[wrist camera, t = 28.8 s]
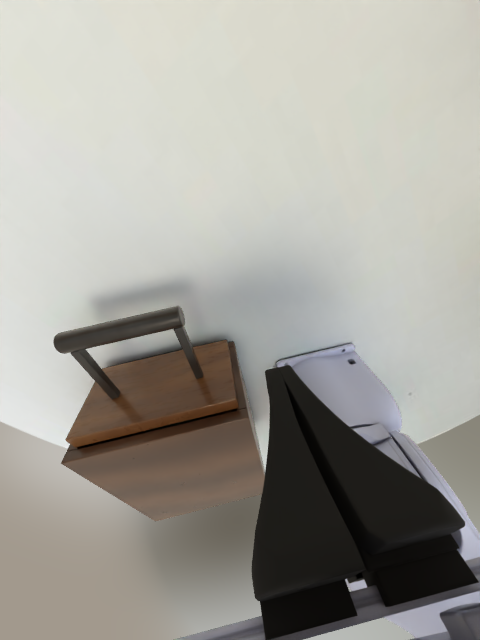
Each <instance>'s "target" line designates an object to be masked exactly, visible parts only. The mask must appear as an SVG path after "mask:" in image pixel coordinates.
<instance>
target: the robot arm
mask: <svg viewBox="0 0 480 640" xmlns="http://www.w3.org/2000/svg"><path fill="white" fill-rule="evenodd" d="M284 363H285V364H284ZM276 365H277V368H273V369H269V370H266V371H265V375H266V381H267V388H268V393H269V399H270V429H269V444H268V455H267V464H266V472H265V479H264V485H263V492H262V498H261V504H260V509H259V514H258V520H257V525H256V530H255V539H254V550H253V560H252V579H253V587H254V594H255V598H256V599H257V600H258V601H260V604H261V612H262V616H259V617H256V618H252V619H248V620H245V621H241V622H238V623H234V624H230V625H226V626H222V627H219V628H215V629H211V630H208V631H204V632H200V633H197V634H193V635H190V636H186V637H182V638H178V639H174V640H303V639H306V638H310V637H313V636H317V635H321V634H324V633H328V632H332V631H335V630H339V629H342V628H346V627H349V626H353V625H357V624H360V623H364V622H367V621H371V620H375V619H379V618H382V617H383V618H386V619H387V620H389V621H391V622H392V623H394V624H396V625H398V626H399V627H401V628H403V629H404V630H406V631H407V632H409V633H410V634H411V635H413V636H414V637H415V639H410V640H480V533H479V532H478V530H477V529H476V528H475V526H474V525H473V523H472V522H471V520H470V519H469V517H468V514H467V512H466V510H465V508H464V506H463V505H462V503H461V502H460V500H459V499H458V497H457V496H456V495H455V493H454V492H453V491H452V489H451V488H450V486H449V485H448V484H447V482H446V481H445V479H444V478H443V477H442V475H441V474H440V473H439V472H438V470H437V469H436V468H435V466H434V465H433V464H432V463H431V461H430V460H429V459H428V458H427V457H426V455H425V454H424V453H423V452H422V450H421V449H420V448H419V447H418V446H417V445H416V444H415V442H414V441H413V440H412V439H411V438H410V437H409V436H408V435H406V434H403V433H399V432H400V430H401V427H402V417H401V413H400V410H399V408H398V406H397V403H396V401H395V400H394V398H393V396H392V395H391V393H390V392H389V390H388V389H387V388H386V387H385V386H384V384H383V383H382V382H381V381H380V380H379V379H378V378H377V376H376V375H375V374H374V373H373V372H372V371H371V370H370V368H369V367H368V366H367V365H366V364H365V363H364V361H363V360H362V359H361V358H360V357H359V356H358V355H357V353H356V352H355V345H354V344H347V345H343V346H339V347H334V348H330V349H326V350H322V351H318V352H313V353H309V354H305V355H301V356H297V357H292V358H288V359H284V360H280V361H278V362H277V364H276ZM391 437H392V438H391ZM393 440H394V441H393ZM347 586H348V587H349V588H350V589H351V591H352V592H349V590H348V587H347Z"/></svg>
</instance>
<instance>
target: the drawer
mask: <svg viewBox="0 0 480 640" xmlns="http://www.w3.org/2000/svg"><path fill="white" fill-rule="evenodd" d="M184 325H185V318H184V314H183V311H182V309H181V307H180V306H176V307H171V308H167V309H162V310H158V311H154V312H149V313H145V314H140V315H136V316H132V317H127V318H123V319H118V320H114V321H110V322H105V323H101V324H96V325H92V326H88V327H83V328H79V329H74V330H70V331H66V332H61V333H58V334H57V335H56V336H55V337H54V346H55V348H56V350H57V351H58V352H60V353H64V354H65V353H70V352H71V354H72V356H73V357H74V358H75V359H76V360H77V361H78V362H79V363H80V365H81V366H82V367H83V368H84V369H85V370H86V371H87V372H88V373H89V375H90V376H91V377H92V378H93V379H94V380H95V383H94V385H93V387H92V389H91V391H90V393H89V394H88V396H87V398H86V400H85V402H84V404H83V406H82V408H81V410H80V412H79V414H78V416H77V418H76V420H75V422H74V424H73V426H72V428H71V430H70V432H69V434H68V436H67V438H66V441H67V442H68V443H70V444H71V445H72V446H74V447H80V446H84V445H88V444H92V443H96V442H99V444H101V443H105V442H110V441H114V440H118V439H122V438H126V437H130V436H134V435H138V434H143V433H145V432H146V430H150V429H154V428H158V427H162V426H166V425H170V424H174V423H179V422H183V421H187V420H191V419H195V418H199V417H203V416H207V415H212V414H216V413H219V415H221V414H225V413H229V412H233V411H237V408H239V405H238V399H237V393H236V387H235V381H234V374H233V368H232V362H231V356H230V350H229V346H228V342H227V340H222V341H218V342H214V343H209V344H205V345H201V346H197V347H192V344H191V342H190V340H189V337H188V335H187V332H186V330H185V327H184ZM170 329H174V331H175V333H176V335H177V338H178V340H179V342H180V344H181V347H182V349H183V350H179V351H175V352H171V353H167V354H162V355H158V356H154V357H149V358H145V359H141V360H137V361H132V362H128V363H124V364H119V365H115V366H111V367H106V368H102V369H101V368H100V366H99V365H98V364H97V363H96V362H95V360H94V359H93V358H92V357H91V356H90V354H89V353H88V352H87V351H86V349H87V348H92V347H96V346H100V345H105V344H109V343H113V342H118V341H122V340H126V339H131V338H135V337H139V336H144V335H148V334H152V333H157V332H161V331H165V330H170Z"/></svg>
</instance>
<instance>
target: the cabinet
mask: <svg viewBox="0 0 480 640" xmlns="http://www.w3.org/2000/svg"><path fill="white" fill-rule="evenodd" d="M228 346H229V350H230V356H231V362H232V368H233V374H234V381H235V387H236V393H237V399H238V405H239V408H237V411H233V412H229V413H225V414H221V415H217V416H213V417H208V418H204V419H200V420H196V421H192V422H188V423H184V424H180V425H175V426H171V427H167V428H163V429H159V430H155V431H151V432H147V433H143V434H138V435H134V436H130V437H126V438H122V439H118V440H114V441H110V442H105V443H101V444H99V442H96V443H92V444H88V445H84V446H80V447H74V446H72V445H71V444H70V446H69V448H68V450H67V452H66V454H65V456H64V458H63V460H62V463H61V464H63V465H64V466H66V467H68V468H69V469H71V470H73V471H74V472H76V473H77V474H79V475H81V476H82V477H84V478H86V479H87V480H89V481H90V482H92V483H94V484H95V485H97V486H99V487H100V488H102V489H104V490H105V491H107V492H108V493H110V494H112V495H113V496H115V497H117V498H118V499H120V500H122V501H123V502H125V503H127V504H128V505H130V506H131V507H133V508H135V509H136V510H138V511H139V512H141V513H143V514H144V515H146V516H148V517H149V518H151V519H153V520H154V521H158V520H163V519H166V518H170V517H174V516H178V515H182V514H186V513H190V512H194V511H198V510H201V509H206V508H209V507H214V506H217V505H221V504H225V503H229V502H233V501H237V500H241V499H245V498H249V497H252V496H257V495H260V494H262V492H263V485H264V479H265V470H264V465H263V461H262V456H261V452H260V447H259V442H258V438H257V433H256V429H255V424H254V420H253V416H252V412H251V408H250V404H249V400H248V396H247V392H246V388H245V384H244V380H243V376H242V372H241V368H240V364H239V360H238V356H237V352H236V348H235V344H234V342H229V343H228Z"/></svg>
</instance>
